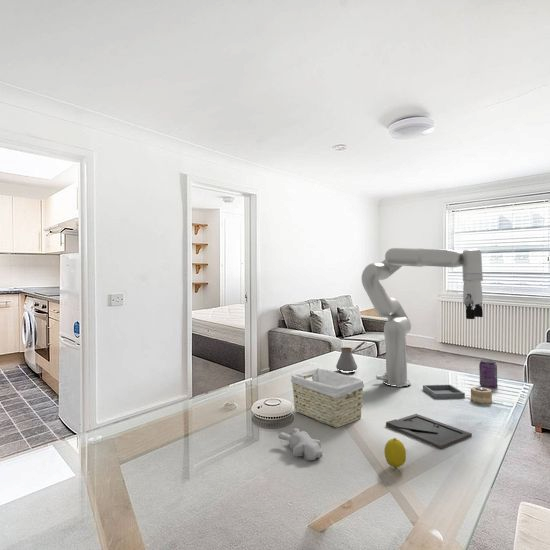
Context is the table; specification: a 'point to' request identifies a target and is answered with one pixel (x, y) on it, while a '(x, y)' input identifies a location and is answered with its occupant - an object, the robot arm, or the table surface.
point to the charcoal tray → (443, 391)
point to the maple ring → (481, 395)
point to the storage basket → (328, 396)
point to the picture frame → (429, 430)
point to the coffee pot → (347, 359)
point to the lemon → (395, 453)
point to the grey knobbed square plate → (482, 390)
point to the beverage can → (488, 373)
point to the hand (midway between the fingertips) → (474, 317)
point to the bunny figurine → (303, 444)
